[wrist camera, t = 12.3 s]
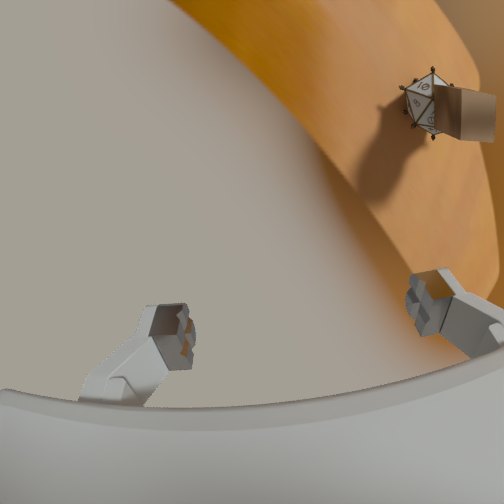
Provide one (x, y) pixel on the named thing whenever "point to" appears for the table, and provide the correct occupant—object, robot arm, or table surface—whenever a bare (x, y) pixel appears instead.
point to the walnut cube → (464, 113)
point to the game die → (423, 101)
